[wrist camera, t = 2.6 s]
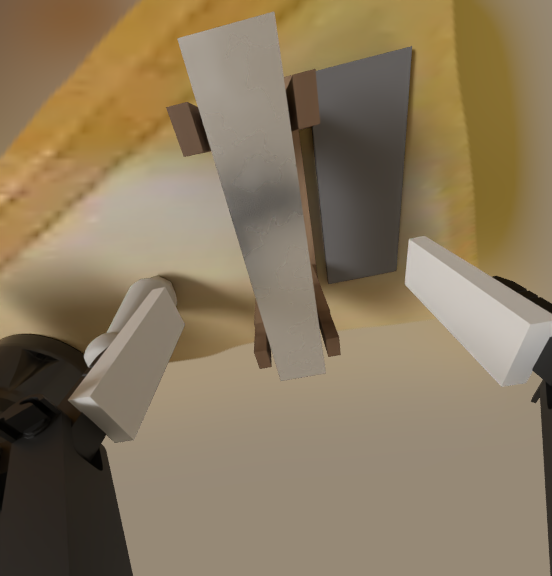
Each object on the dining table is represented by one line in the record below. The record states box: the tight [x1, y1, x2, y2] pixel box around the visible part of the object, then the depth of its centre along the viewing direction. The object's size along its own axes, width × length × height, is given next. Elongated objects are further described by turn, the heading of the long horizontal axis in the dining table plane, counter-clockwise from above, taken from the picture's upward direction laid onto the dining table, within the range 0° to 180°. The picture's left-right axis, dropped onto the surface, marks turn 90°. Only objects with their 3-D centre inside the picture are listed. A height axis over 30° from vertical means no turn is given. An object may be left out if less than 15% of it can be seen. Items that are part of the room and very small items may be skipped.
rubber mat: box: [312, 46, 412, 284], centre depth 27 cm, size 9×22×1 cm, turn 12°
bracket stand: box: [166, 69, 340, 369], centre depth 21 cm, size 8×22×14 cm, turn 11°
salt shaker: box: [84, 276, 177, 367], centre depth 27 cm, size 6×6×13 cm
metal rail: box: [177, 12, 326, 381], centre depth 17 cm, size 4×22×4 cm, turn 11°
